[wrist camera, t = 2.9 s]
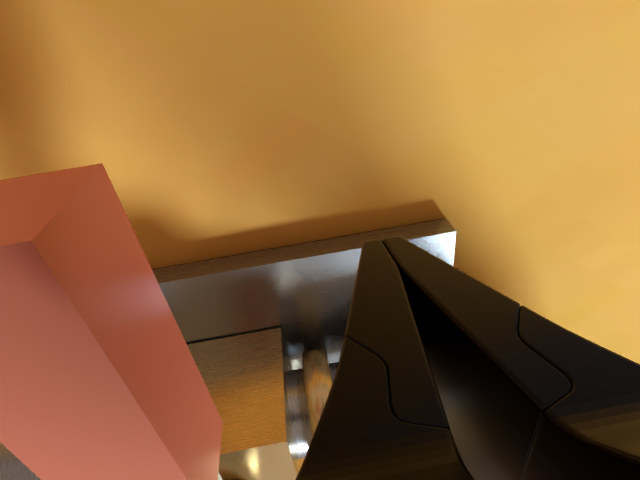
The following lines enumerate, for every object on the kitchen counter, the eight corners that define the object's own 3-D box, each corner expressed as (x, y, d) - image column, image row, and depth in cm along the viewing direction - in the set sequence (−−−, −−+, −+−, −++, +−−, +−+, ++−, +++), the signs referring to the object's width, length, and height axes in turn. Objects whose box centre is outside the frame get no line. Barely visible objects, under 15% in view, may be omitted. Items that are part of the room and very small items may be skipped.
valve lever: (266, 516, 17) (267, 603, 14) (201, 529, 16) (191, 618, 14) (102, 163, 8) (32, 240, 5) (-43, 187, 8) (-179, 276, 5)
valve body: (446, 218, 19) (550, 349, 12) (435, 391, 27) (495, 532, 20) (-51, 305, 18) (-242, 498, 11) (85, 458, 26) (21, 628, 19)
